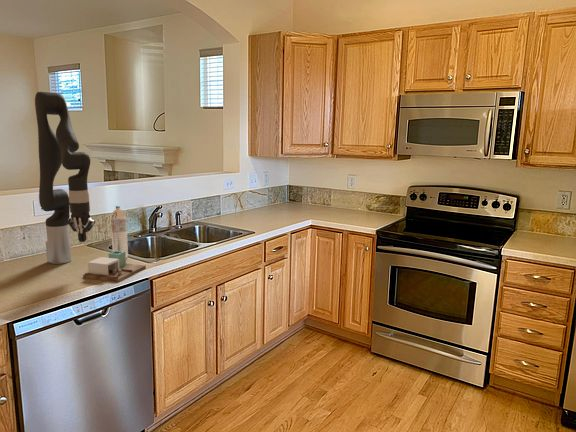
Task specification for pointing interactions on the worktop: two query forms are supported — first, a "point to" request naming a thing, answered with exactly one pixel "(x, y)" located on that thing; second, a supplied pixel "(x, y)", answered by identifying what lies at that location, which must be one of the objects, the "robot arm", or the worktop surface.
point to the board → (117, 273)
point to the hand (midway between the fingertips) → (82, 241)
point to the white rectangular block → (103, 265)
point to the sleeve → (119, 257)
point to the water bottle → (119, 231)
